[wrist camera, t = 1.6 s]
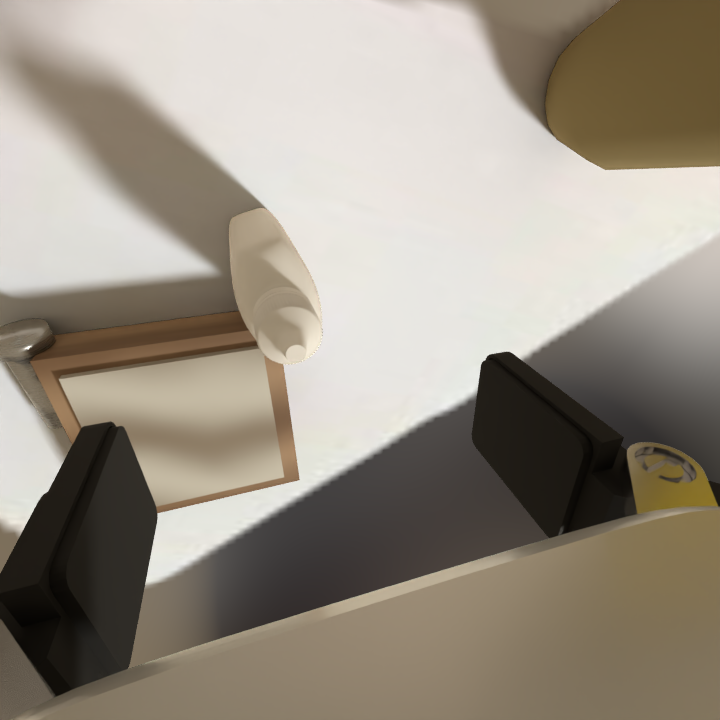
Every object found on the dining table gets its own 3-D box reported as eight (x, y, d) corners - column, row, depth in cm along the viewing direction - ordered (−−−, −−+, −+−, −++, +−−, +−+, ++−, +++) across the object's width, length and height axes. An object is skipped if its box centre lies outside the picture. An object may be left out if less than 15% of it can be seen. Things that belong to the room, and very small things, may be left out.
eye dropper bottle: (220, 298, 24) (218, 420, 14) (231, 199, 21) (238, 259, 11) (293, 308, 25) (339, 424, 15) (311, 217, 23) (378, 283, 13)
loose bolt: (-30, 341, 19) (12, 346, 19) (19, 317, 22) (58, 320, 21) (32, 432, 23) (69, 438, 22) (69, 403, 25) (104, 408, 24)
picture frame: (51, 335, 22) (26, 365, 19) (272, 306, 25) (278, 329, 22) (122, 488, 28) (110, 529, 25) (293, 451, 31) (300, 484, 28)
